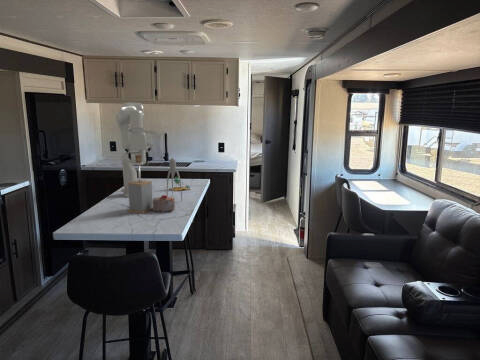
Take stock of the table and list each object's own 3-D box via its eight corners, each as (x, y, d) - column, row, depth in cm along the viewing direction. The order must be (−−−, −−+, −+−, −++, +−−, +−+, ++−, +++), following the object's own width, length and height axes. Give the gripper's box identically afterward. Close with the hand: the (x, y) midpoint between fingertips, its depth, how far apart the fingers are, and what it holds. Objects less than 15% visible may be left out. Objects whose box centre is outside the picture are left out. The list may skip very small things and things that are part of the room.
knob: (131, 195, 222) (128, 155, 217) (139, 192, 229) (137, 153, 224) (141, 196, 219) (139, 156, 214) (149, 193, 226) (147, 154, 221)
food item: (175, 208, 230) (175, 193, 228) (175, 212, 222) (174, 196, 220) (154, 209, 228) (153, 194, 226) (152, 212, 220) (151, 197, 218)
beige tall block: (127, 211, 223) (125, 183, 219) (140, 206, 234) (138, 179, 230) (143, 213, 218) (141, 184, 215) (155, 208, 229) (153, 181, 225)
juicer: (179, 203, 242) (178, 159, 236) (166, 202, 244) (165, 158, 238) (184, 199, 252) (183, 156, 246) (172, 198, 254) (171, 156, 248)
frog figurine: (188, 192, 274) (185, 173, 272) (166, 193, 278) (163, 174, 275) (192, 189, 284) (189, 170, 281) (171, 190, 287) (168, 172, 284)
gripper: (122, 131, 209) (124, 160, 213) (152, 130, 216) (153, 159, 219) (121, 130, 216) (123, 159, 220) (150, 130, 222) (152, 157, 226)
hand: (138, 159), depth 219 cm, fingers open, 9 cm apart
